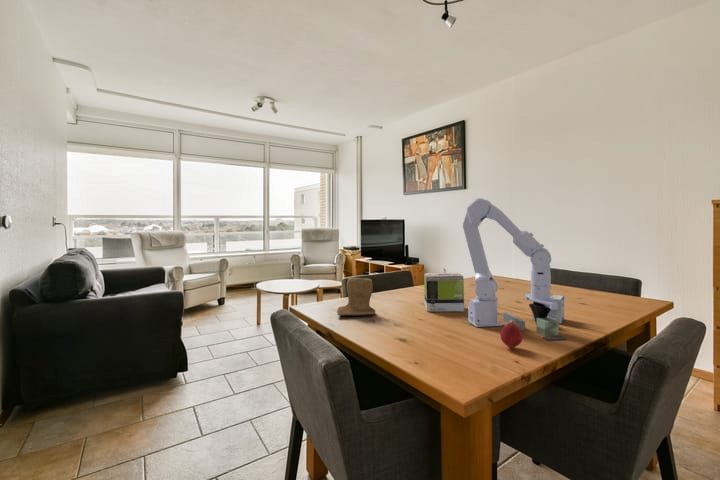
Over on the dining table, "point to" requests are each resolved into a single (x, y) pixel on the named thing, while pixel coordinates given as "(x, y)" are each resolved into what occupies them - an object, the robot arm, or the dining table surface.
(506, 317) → the tunnel
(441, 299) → the tea box
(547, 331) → the green block
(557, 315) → the medicine box
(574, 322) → the dining table surface
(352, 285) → the brown flared block
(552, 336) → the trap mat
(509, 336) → the onion
